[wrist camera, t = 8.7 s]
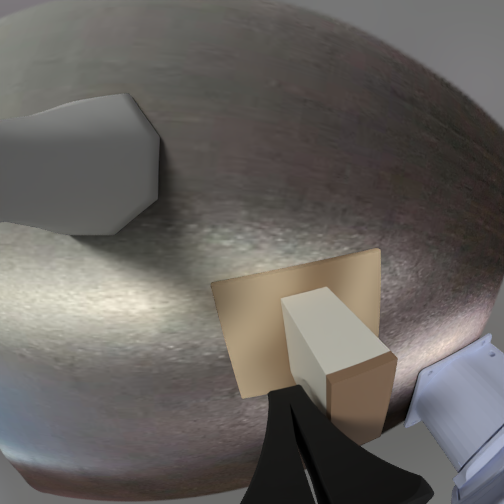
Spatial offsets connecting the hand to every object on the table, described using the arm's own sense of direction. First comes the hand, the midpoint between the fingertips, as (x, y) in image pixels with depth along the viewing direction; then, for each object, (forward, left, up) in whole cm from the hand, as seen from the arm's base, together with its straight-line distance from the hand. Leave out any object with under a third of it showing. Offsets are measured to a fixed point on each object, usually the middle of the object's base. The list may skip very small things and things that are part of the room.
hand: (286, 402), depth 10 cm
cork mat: (-2, 0, -5) cm, 5 cm away
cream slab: (-2, 0, -4) cm, 5 cm away
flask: (+7, -11, -5) cm, 14 cm away
